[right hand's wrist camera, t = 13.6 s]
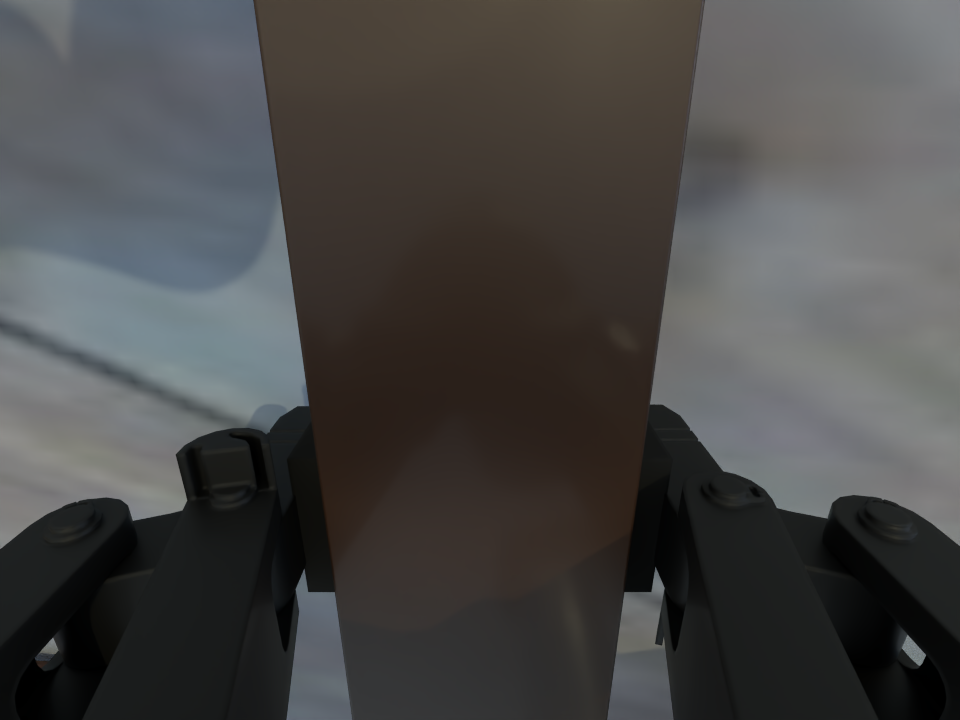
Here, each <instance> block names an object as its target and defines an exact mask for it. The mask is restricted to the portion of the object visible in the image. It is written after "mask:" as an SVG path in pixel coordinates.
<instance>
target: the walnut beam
mask: <svg viewBox="0 0 960 720" xmlns="http://www.w3.org/2000/svg"><path fill="white" fill-rule="evenodd" d="M253 1H254V8H255V15H256V23H257V30H258V37H259V44H260V52H261V59H262V66H263V73H264V81H265V88H266V95H267V103H268V110H269V117H270V124H271V132H272V139H273V146H274V153H275V161H276V168H277V175H278V182H279V190H280V197H281V204H282V211H283V219H284V226H285V233H286V240H287V248H288V255H289V262H290V270H291V277H292V284H293V291H294V299H295V306H296V313H297V320H298V328H299V335H300V342H301V349H302V357H303V364H304V371H305V378H306V386H307V393H308V400H309V408H310V415H311V422H312V429H313V437H314V444H315V451H316V458H317V466H318V473H319V480H320V487H321V495H322V502H323V509H324V516H325V524H326V531H327V538H328V545H329V553H330V560H331V567H332V575H333V582H334V589H335V596H336V604H337V611H338V618H339V625H340V633H341V640H342V647H343V654H344V662H345V669H346V676H347V683H348V691H349V698H350V705H351V712H352V720H607V715H608V708H609V701H610V693H611V686H612V679H613V671H614V664H615V657H616V649H617V642H618V634H619V627H620V620H621V612H622V605H623V598H624V590H625V583H626V576H627V568H628V561H629V554H630V546H631V539H632V532H633V524H634V517H635V510H636V502H637V495H638V488H639V480H640V473H641V466H642V458H643V451H644V443H645V436H646V429H647V421H648V414H649V407H650V399H651V392H652V385H653V377H654V370H655V363H656V355H657V348H658V341H659V333H660V326H661V319H662V311H663V304H664V297H665V289H666V282H667V274H668V267H669V260H670V252H671V245H672V238H673V230H674V223H675V216H676V208H677V201H678V194H679V186H680V179H681V172H682V164H683V157H684V150H685V142H686V135H687V128H688V120H689V113H690V106H691V98H692V91H693V83H694V76H695V69H696V61H697V54H698V47H699V39H700V32H701V25H702V17H703V10H704V3H705V0H253Z"/></svg>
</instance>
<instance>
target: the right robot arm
mask: <svg viewBox="0 0 960 720" xmlns="http://www.w3.org/2000/svg"><path fill="white" fill-rule="evenodd" d="M176 457H177V461H178V465H179V469H180V473H181V477H182V481H183V485H184V489H185V492H186V496H187V502H186V505H185V507H184V509H183V511H179V512H175V513H171V514H166V515H161V516H156V517H151V518H146V519H141V520H135V521H133V520H132V517H131V514H130V511H129V507H128V505H127V504H125V503H124V502H123V501H121V500H119V499H113V498H97V499H87V500H82V501H79V502H77V503H76V502H74V503H71V504H68V505H65V506H63V507H62V508H60V509H58V510H56V511H53V512H51V513H49V514H47V515H45V516H44V517H42V518H41V519H39V520H37V521H36V522H34V523H33V524H31V525H30V526H29V527H27V528H26V529H25V530H24V531H22V532H21V533H20V534H19V535H17V536H16V537H15V538H14V539H12V540H11V541H10V542H9V543H8V544H6V545H5V546H4V547H3V548H1V549H0V720H286V719H287V710H288V701H289V693H290V684H291V676H292V667H293V659H294V650H295V642H296V633H297V624H298V616H299V608H298V601H297V595H296V590H295V589H296V587H297V584H298V582H299V580H300V577H301V575H302V573H303V570H304V568H305V574H306V580H307V587H308V592H335V589H334V582H333V575H332V567H331V560H330V553H329V545H328V538H327V531H326V524H325V516H324V509H323V502H322V495H321V487H320V480H319V473H318V466H317V458H316V451H315V444H314V437H313V429H312V422H311V415H310V408H309V406H297V407H296V408H294V409H293V410H291V411H289V412H288V413H286V414H285V415H283V416H281V417H280V418H279V419H278V421H277V422H276V423H275V424H274V426H273V427H272V428H271V430H270V433H268V434H267V435H266V434H265V433H263V432H262V431H260V430H255V429H250V428H232V429H227V430H221V431H216V432H213V433H210V434H207V435H204V436H201V437H199V438H197V439H195V440H193V441H192V442H190V443H188V444H186V445H185V446H184V447H183V448H182V449H181V450H180V451H179V452H178V453H177V454H176ZM655 566H656V569H657V571H658V573H659V576H660V578H661V580H662V583H663V585H664V587H665V590H664V595H663V601H662V607H661V612H660V618H659V624H658V629H657V635H656V642H655V644H658V645H662V643H663V638H664V640H665V649H666V657H667V666H668V674H669V683H670V692H671V700H672V709H673V717H674V720H960V546H959V545H958V544H956V543H955V542H954V541H953V540H951V539H950V538H949V537H948V536H946V535H945V534H944V533H943V532H941V531H940V530H939V529H938V528H936V527H935V526H934V525H933V524H931V523H930V522H928V521H927V520H925V519H924V518H922V517H921V516H919V515H918V514H916V513H914V512H913V511H911V510H908V509H906V508H904V507H901V506H899V505H898V504H896V503H894V502H891V501H888V500H885V499H884V500H882V499H881V498H876V497H867V496H857V495H852V496H845V497H840V498H838V499H837V500H836V501H834V502H833V503H832V506H831V509H830V512H829V516H828V519H826V518H821V517H816V516H811V515H806V514H800V513H795V512H790V511H786V510H782V509H778V508H776V506H775V504H774V502H773V500H772V498H771V497H770V496H769V495H768V493H767V492H766V491H765V490H764V489H763V488H761V487H760V486H758V485H757V484H755V483H754V482H752V481H751V480H748V479H746V478H743V477H741V476H739V475H736V474H732V473H728V472H723V471H722V469H721V468H720V467H719V465H718V464H717V463H716V462H715V460H714V459H713V458H712V456H711V455H710V454H709V452H708V451H707V450H706V449H705V447H704V446H703V445H702V443H701V442H698V438H697V437H696V436H695V434H694V433H693V432H692V431H690V428H689V427H688V425H687V424H686V423H685V421H684V420H683V419H682V418H681V416H680V415H678V414H677V413H675V412H673V411H672V410H670V409H668V408H667V407H665V406H664V405H650V407H649V414H648V421H647V429H646V436H645V443H644V451H643V458H642V466H641V473H640V480H639V488H638V495H637V502H636V510H635V517H634V524H633V532H632V539H631V546H630V554H629V561H628V568H627V576H626V583H625V590H624V592H651V591H652V584H653V578H654V572H655ZM907 634H908V635H909V637H910V638H911V639H912V640H913V641H914V642H915V643H916V644H917V645H918V646H919V648H920V649H921V650H922V651H923V652H924V653H925V654H926V657H925V659H924V661H923V663H922V665H921V666H919V665H917V664H916V663H915V662H914V661H913V660H912V659H911V658H910V657H909V656H908V655H907V654H906V653H905V652H904V650H903V649H902V646H903V644H904V642H905V639H906V637H907ZM52 638H54V640H55V643H56V645H57V647H58V650H59V651H58V652H57V653H56V654H55V655H54V657H53V658H52V659H51V660H50V661H49V662H48V663H46V664H45V665H44V666H43V667H42V668H40V667H39V666H38V665H37V662H36V660H35V657H36V656H37V654H38V653H39V652H40V651H41V650H42V649H43V648H44V647H45V646H46V644H47V643H48V642H49V641H50V640H51V639H52Z"/></svg>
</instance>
